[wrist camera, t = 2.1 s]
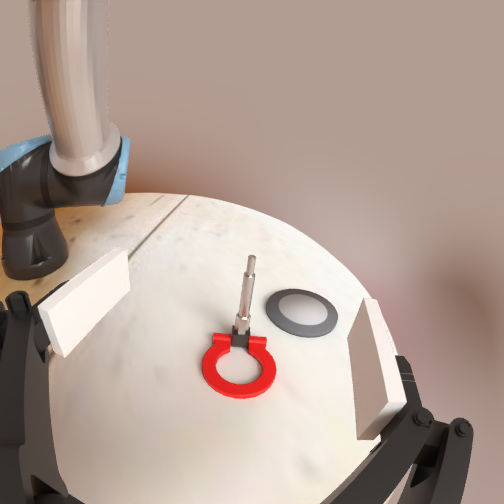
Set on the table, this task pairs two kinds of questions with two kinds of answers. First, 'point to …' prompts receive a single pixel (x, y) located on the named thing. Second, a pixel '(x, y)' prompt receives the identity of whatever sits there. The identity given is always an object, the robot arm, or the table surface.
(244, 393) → the tow hook
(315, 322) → the plate
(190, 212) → the table surface
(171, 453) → the table surface
